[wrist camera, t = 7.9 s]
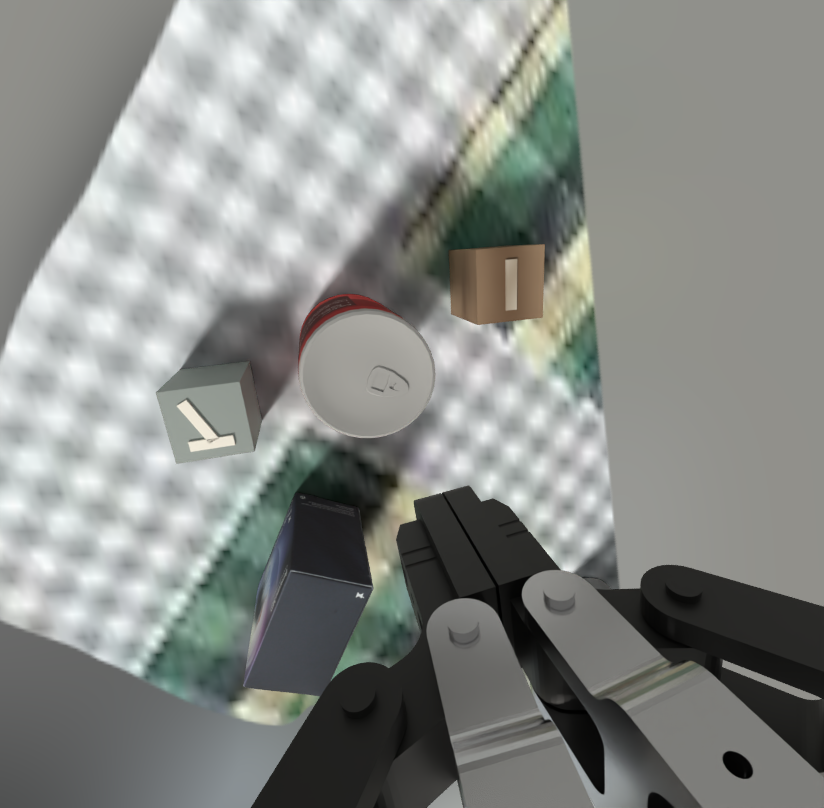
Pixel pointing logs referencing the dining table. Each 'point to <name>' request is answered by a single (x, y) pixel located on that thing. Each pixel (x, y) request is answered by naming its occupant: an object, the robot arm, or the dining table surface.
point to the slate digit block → (211, 411)
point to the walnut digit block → (497, 283)
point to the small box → (308, 598)
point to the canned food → (363, 367)
